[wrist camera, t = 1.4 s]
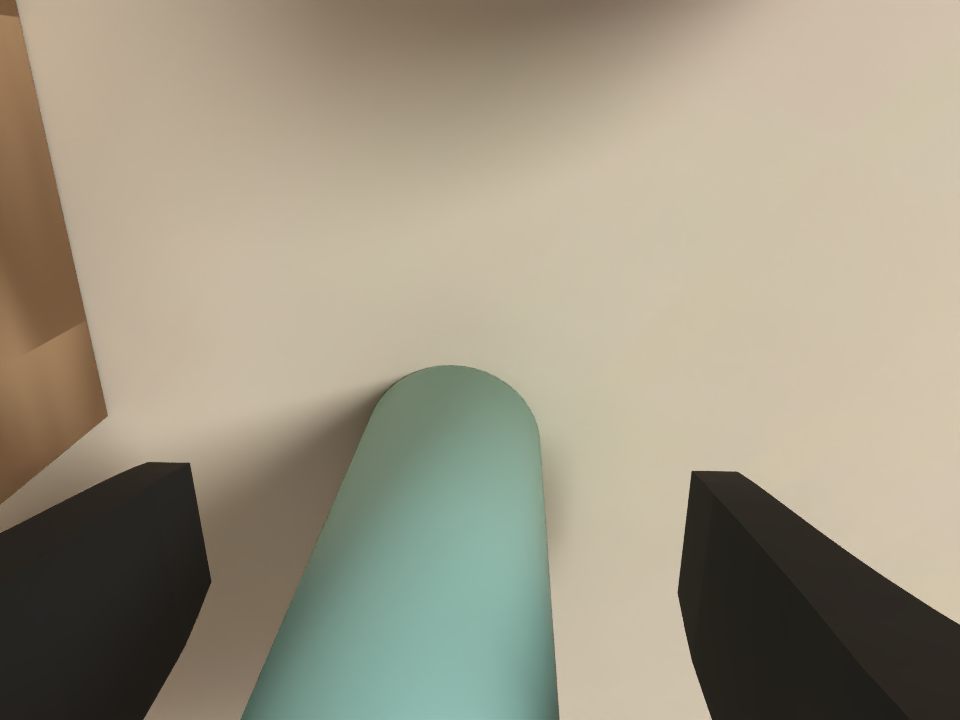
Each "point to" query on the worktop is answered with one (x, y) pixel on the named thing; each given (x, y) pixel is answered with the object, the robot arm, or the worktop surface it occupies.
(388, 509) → the peg
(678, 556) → the worktop surface
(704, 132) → the worktop surface
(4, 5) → the hole block
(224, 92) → the worktop surface
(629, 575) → the worktop surface
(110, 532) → the robot arm
